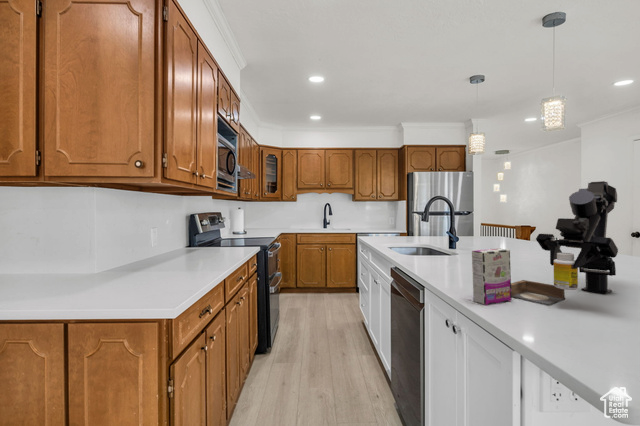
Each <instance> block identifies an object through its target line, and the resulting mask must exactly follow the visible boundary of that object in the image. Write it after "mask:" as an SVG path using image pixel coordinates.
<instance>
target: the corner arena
mask: <svg viewBox="0 0 640 426" xmlns="http://www.w3.org/2000/svg"><path fill="white" fill-rule="evenodd" d="M565 293H566V292H565V289H560V288H556V287H555V286H554V284H550V283H545V282H544V283H542V282H537V281H530V280H525V279H522V280H519V281H514V282H511V299H517V300H521V301H527V302H529V303H535V304H540V305H544V306H548V307H549V306H553V305H555V304H557V303H559V302H562V301H564V300H566V297H565Z"/></svg>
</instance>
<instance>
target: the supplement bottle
mask: <svg viewBox="0 0 640 426" xmlns="http://www.w3.org/2000/svg"><path fill="white" fill-rule="evenodd" d="M575 261H576V259H575V254H574V253H571V252H562V253H557V259H555V260H554V265H553V285H554V286H555V287H556V288H560V289H564V291H565V290H567V291H574V290H575V291H576V290H578V287H579V282H578V280H579V278H578V277H579V275H578V274H579V273H578V272H579V268H577V269H574V267H573V265H574V263H575Z"/></svg>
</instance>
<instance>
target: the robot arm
mask: <svg viewBox="0 0 640 426" xmlns="http://www.w3.org/2000/svg"><path fill="white" fill-rule="evenodd" d="M568 200H569V205H570V208H571V212H572V214H573V215H574V218H557V221H556V225H555V229H556V230H558V231H559V232H560V233H559V235H560V236H561V237H563V238H558V237H555V235H554V234H553V233H538V234H537V236H536V237H535V241H536V242H537V243H538V244H539V246H540V248H541V249H542V250H544V251H548V252H549V257H550V258H549V260H550V262H549V263H550V265H551V266H553V267H554V260H555V259H557V253H563V251H562V250H561V247H566V248H575V249H581V250H580V251H579V253H578V255H577V257H576V259H575V263H574V265H573V267H574V269H577V268H578V272H579V273H584V275H585V287H581V291H585V292H591V293H596V294H603V295H607V294H609V293H612V292H613V291H612V289H610V288H609V286H608V282H609V281H608V277H609V276H611V277H612V276H616V275H617V274H616V273H617V270H616V262H615V261H614V260H613V258H616V257H617V255H618V253H619V248H618V247H617V245H616V243H615V242H614V240H613V239H612V237H607V236H606V235H607V225H608V216H609V215H608V214H609V213H610V212H612V211H613V210H614V209H615V203H618V193H617V188H616V187H614V186H611V185H610V184H609V182H608V181H605V180H604V181H603V180H602V181H590V182H588V183H587V187H586V188H579V189H578V191H575V192H573V193H571V194H570V196H569V197H568Z"/></svg>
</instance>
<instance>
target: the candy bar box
mask: <svg viewBox="0 0 640 426" xmlns="http://www.w3.org/2000/svg"><path fill="white" fill-rule="evenodd" d="M471 265H472V293H473V294H472V296H473V297H472V300H473V302H475V303H478V304H480V305H484V306H489V305H496V304H500V303H506V302H511V301H512V299H513V298H512V297H511V283H512V278H511V277H512V275H511V271H512V270H511V249H507V248H506V249H505V248H490V249H489V248H488V249H477V250H472V251H471Z"/></svg>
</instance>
